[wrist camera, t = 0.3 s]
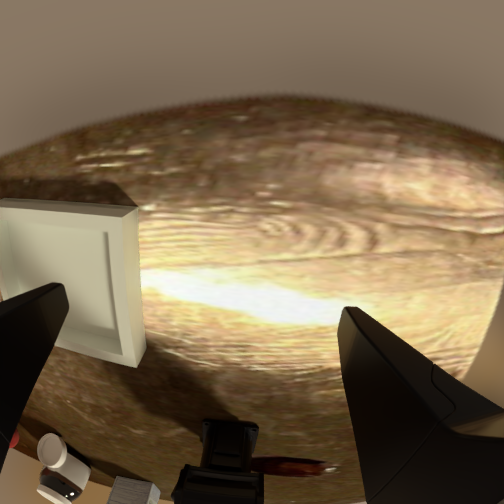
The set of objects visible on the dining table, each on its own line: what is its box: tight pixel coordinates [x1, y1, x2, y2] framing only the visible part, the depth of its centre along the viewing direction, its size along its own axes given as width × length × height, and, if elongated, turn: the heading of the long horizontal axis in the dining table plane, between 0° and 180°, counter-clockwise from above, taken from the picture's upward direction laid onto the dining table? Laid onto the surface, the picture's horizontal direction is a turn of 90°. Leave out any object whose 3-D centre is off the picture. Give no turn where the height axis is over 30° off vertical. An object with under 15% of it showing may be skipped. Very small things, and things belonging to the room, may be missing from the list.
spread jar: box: [37, 433, 91, 504], centre depth 36 cm, size 12×11×12 cm
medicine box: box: [107, 476, 160, 504], centre depth 39 cm, size 8×4×9 cm, turn 97°
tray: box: [0, 198, 147, 368], centre depth 24 cm, size 14×16×3 cm
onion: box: [9, 427, 19, 448], centre depth 37 cm, size 6×6×8 cm
